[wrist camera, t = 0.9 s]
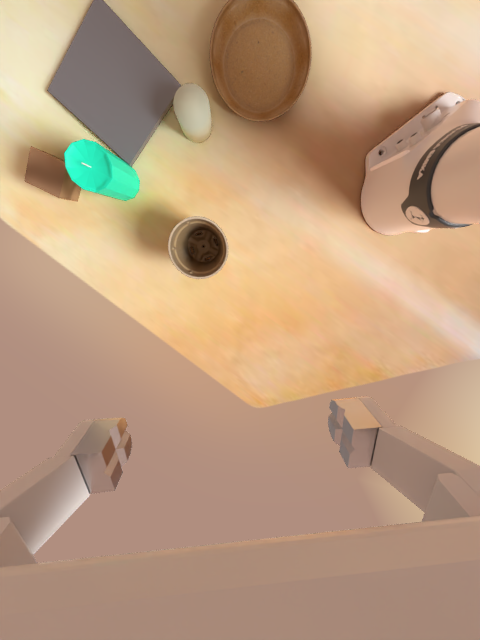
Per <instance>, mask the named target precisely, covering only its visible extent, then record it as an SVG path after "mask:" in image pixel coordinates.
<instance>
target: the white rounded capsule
mask: <svg viewBox="0 0 480 640" xmlns="http://www.w3.org/2000/svg"><path fill="white" fill-rule="evenodd" d="M173 106H174V111H175V114H176V117H177V119H178V121H179V124H180V126H181V128H182V131H183V133H184V135H185V136H186V137H187V138H188V139H189V140H190V141H192V142H195V143H201V142H204V141H205V140H207V139H208V137H209V136H210V134H211V131H212V119H211V112H210V104H209V99H208V97H207V95H206V93H205V91H204V90H203V89H202V88H201V87H200V86H198V85H196V84H193V83H187V84H184V85H182V86H181V87H180V88H179V89H178V90H177V91H176V93H175V96H174V101H173Z"/></svg>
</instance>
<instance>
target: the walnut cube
mask: <svg viewBox="0 0 480 640" xmlns="http://www.w3.org/2000/svg"><path fill="white" fill-rule="evenodd" d="M25 182H27V183H29V184H31V185H33V186H36V187H38V188H40V189H42V190H44V191H46V192H48V193H50V194H52V195H54V196H56V197H58V198H61V199H67V200H72V201H77V202H78V198H79V194H80V190H81V187H80V186H78V185H77V184H76V183H75V182H73V181H72V180H71V178H70V176H69V173H68V171H67V169H66V167H65V161H63V160H61V159H59V158H57V157H55V156H53V155H50V154H48V153H46V152H43V151H41V150H39V149H36V148H34V147H32V146H31V148H30V153H29V159H28V164H27V170H26V176H25Z"/></svg>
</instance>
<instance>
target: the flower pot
mask: <svg viewBox="0 0 480 640" xmlns="http://www.w3.org/2000/svg"><path fill="white" fill-rule="evenodd" d="M200 232H201V233H202V234H200V235H196V234H197V233H200ZM214 238H215V239H216V240H217V245H216V244H215V241H214ZM203 245H204V246H205V247H202V246H203ZM190 247H192V248H193V251H194V253H191V249H190ZM168 252H169V256H170V259H171V261H172V263H173V264H174V266H175V267H176V268H177V269H178V270H179V271H180V272H181V273H182V274H184V275H186V276H188V277H190V278H194V279H205V278H209V277H211V276H213V275H215V274H217V273H218V272H219V271H220V270H221V269H222V268H223V266H224V265H225V263H226V260H227V257H228V242H227V239H226V236H225V234H224V232H223V231H222V229H221V228H220V227H219V226H218V225H217V224H216V223H215V222H213V221H212V220H210V219H207V218H204V217H199V216H194V217H189V218H186V219H184V220H182V221H180V222H179V223H178V224H177V225H176V226H175V227H174V228H173V230H172V231H171V234H170V236H169V240H168ZM208 257H211V258H210V259H208V260H205V258H208Z"/></svg>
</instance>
